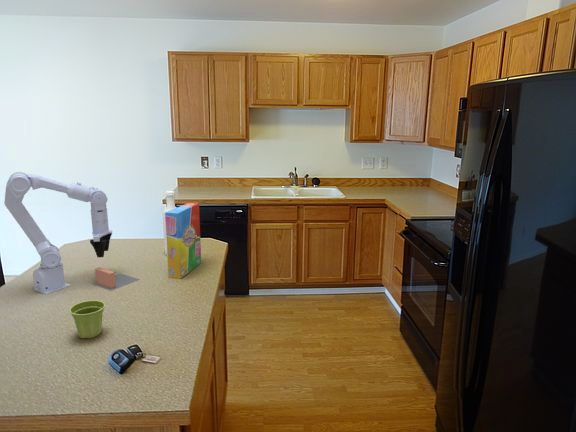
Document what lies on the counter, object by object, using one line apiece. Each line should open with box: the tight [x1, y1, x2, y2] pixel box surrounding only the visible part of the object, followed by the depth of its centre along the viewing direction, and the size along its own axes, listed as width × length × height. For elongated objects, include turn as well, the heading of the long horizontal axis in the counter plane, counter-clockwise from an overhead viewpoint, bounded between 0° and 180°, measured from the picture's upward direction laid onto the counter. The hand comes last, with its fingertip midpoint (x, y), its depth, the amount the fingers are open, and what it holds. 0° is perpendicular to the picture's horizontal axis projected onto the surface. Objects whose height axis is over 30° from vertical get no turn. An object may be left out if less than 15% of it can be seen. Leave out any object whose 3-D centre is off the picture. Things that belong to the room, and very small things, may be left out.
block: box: [94, 267, 116, 289], centre depth 152 cm, size 2×9×6 cm, turn 59°
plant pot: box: [68, 299, 106, 339], centre depth 119 cm, size 9×9×9 cm
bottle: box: [162, 190, 178, 257], centre depth 187 cm, size 8×8×30 cm
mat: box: [91, 272, 141, 292], centre depth 157 cm, size 13×12×1 cm
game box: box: [165, 202, 202, 280], centre depth 168 cm, size 21×6×27 cm, turn 168°
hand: (103, 253), depth 158 cm, fingers open, 7 cm apart
